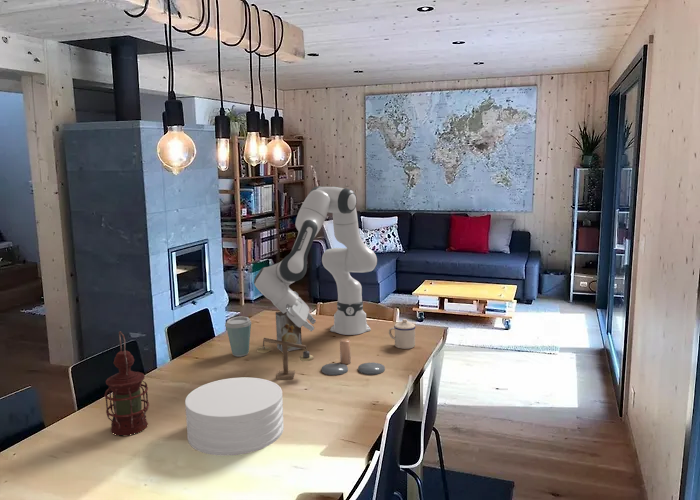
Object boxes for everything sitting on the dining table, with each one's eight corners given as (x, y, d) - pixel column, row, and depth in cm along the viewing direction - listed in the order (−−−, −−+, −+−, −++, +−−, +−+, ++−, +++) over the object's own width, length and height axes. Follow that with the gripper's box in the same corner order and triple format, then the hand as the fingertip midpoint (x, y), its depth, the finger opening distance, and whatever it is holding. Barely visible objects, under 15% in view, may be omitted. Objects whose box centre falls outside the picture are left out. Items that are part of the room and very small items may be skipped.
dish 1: (322, 365, 222) (322, 363, 222) (347, 365, 222) (347, 362, 221) (320, 375, 212) (320, 372, 212) (347, 375, 212) (347, 372, 212)
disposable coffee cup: (244, 359, 230) (242, 323, 227) (221, 356, 234) (219, 321, 231) (257, 351, 239) (256, 317, 237) (235, 348, 243) (234, 314, 241)
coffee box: (296, 344, 247) (295, 308, 245) (302, 349, 242) (301, 312, 239) (276, 348, 243) (275, 311, 241) (282, 352, 238) (280, 315, 235)
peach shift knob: (340, 361, 227) (340, 339, 225) (350, 360, 227) (350, 339, 225) (340, 364, 223) (339, 342, 221) (350, 364, 223) (350, 342, 221)
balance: (259, 373, 215) (257, 335, 212) (314, 372, 215) (313, 334, 212) (257, 379, 209) (255, 340, 207) (313, 378, 209) (312, 339, 207)
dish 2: (358, 365, 222) (358, 362, 221) (383, 364, 222) (383, 362, 221) (358, 374, 212) (358, 372, 212) (385, 374, 212) (385, 371, 212)
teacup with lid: (418, 344, 245) (419, 318, 243) (410, 350, 237) (410, 323, 236) (393, 340, 251) (393, 314, 249) (384, 346, 243) (384, 319, 242)
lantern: (155, 430, 171) (147, 334, 166) (111, 441, 164) (102, 341, 159) (145, 415, 181) (138, 324, 176) (104, 425, 174) (95, 331, 170)
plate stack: (203, 411, 184) (201, 377, 182) (289, 411, 183) (288, 377, 181) (174, 456, 156) (171, 416, 154) (275, 456, 155) (274, 416, 153)
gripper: (290, 303, 210) (317, 328, 212) (296, 290, 230) (320, 313, 232) (279, 315, 211) (306, 340, 212) (285, 301, 231) (310, 324, 233)
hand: (313, 326), depth 222 cm, fingers open, 8 cm apart
